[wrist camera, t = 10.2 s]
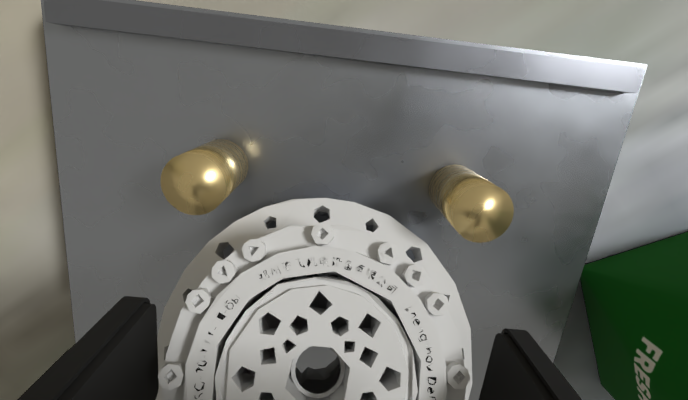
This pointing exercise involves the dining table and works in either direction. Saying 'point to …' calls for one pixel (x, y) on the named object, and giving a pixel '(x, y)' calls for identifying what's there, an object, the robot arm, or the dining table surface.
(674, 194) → the dining table surface
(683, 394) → the milk carton
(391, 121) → the plate
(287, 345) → the mechanical component
